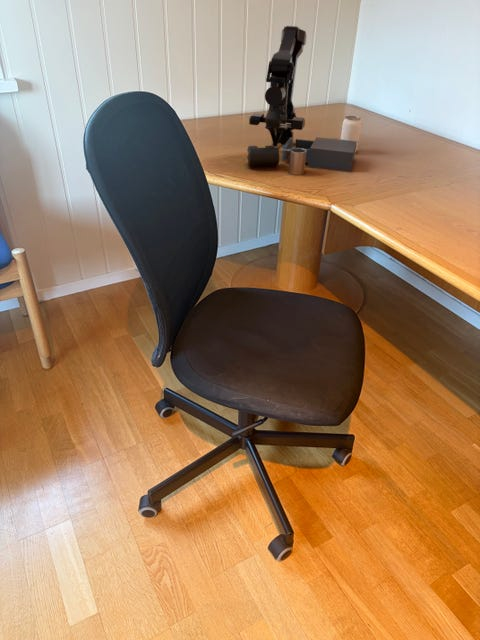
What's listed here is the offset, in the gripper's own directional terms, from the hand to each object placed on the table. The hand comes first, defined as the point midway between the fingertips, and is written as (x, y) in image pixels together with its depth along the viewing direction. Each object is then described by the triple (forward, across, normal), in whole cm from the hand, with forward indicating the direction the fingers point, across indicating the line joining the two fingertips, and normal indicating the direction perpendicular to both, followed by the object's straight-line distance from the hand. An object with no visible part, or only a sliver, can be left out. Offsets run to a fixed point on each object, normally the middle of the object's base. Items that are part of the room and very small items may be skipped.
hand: (275, 146), depth 175 cm
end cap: (+4, -1, -13) cm, 14 cm away
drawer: (+3, +9, 0) cm, 9 cm away
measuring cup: (+3, +9, -14) cm, 17 cm away
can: (+4, +24, +16) cm, 29 cm away
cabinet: (+4, +20, 0) cm, 21 cm away
